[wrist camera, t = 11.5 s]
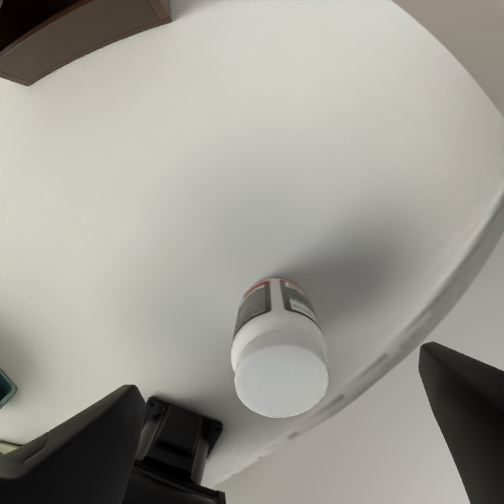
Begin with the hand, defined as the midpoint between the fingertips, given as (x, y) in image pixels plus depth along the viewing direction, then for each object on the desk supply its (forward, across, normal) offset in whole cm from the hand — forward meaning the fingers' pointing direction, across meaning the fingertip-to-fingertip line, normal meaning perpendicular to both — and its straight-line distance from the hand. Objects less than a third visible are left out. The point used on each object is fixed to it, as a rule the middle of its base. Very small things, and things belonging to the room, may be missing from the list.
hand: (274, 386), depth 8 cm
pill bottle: (+12, +1, +3) cm, 12 cm away
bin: (+13, +10, -24) cm, 29 cm away
